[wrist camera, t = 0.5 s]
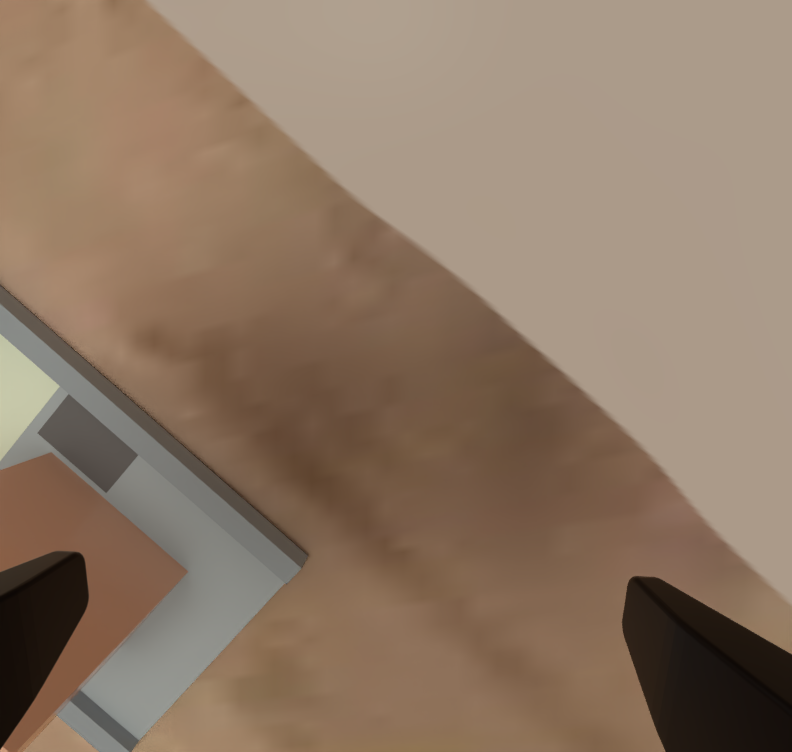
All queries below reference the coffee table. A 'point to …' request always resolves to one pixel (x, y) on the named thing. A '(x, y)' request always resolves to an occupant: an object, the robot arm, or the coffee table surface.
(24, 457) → the slate lane
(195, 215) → the coffee table surface
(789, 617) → the coffee table surface
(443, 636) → the coffee table surface
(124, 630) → the terracotta block
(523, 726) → the coffee table surface
